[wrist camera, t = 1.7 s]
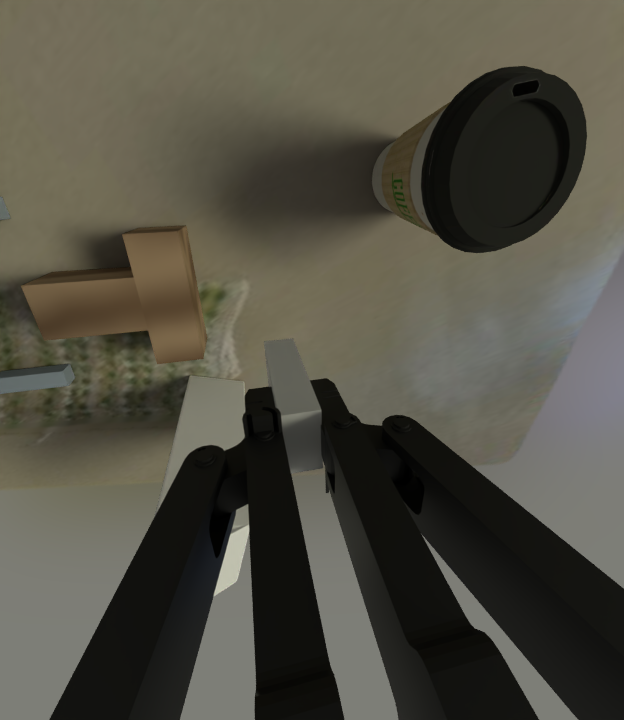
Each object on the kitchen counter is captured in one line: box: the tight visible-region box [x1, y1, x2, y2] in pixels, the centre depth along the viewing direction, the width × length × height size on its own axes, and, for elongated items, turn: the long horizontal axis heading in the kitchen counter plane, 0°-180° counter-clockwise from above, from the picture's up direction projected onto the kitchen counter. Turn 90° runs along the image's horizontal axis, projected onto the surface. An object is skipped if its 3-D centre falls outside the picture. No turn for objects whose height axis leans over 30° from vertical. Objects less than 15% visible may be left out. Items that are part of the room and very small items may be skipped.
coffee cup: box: [372, 66, 587, 253], centre depth 26 cm, size 10×10×15 cm
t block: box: [21, 226, 207, 364], centre depth 30 cm, size 11×12×5 cm
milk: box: [155, 375, 249, 596], centre depth 29 cm, size 6×6×22 cm
